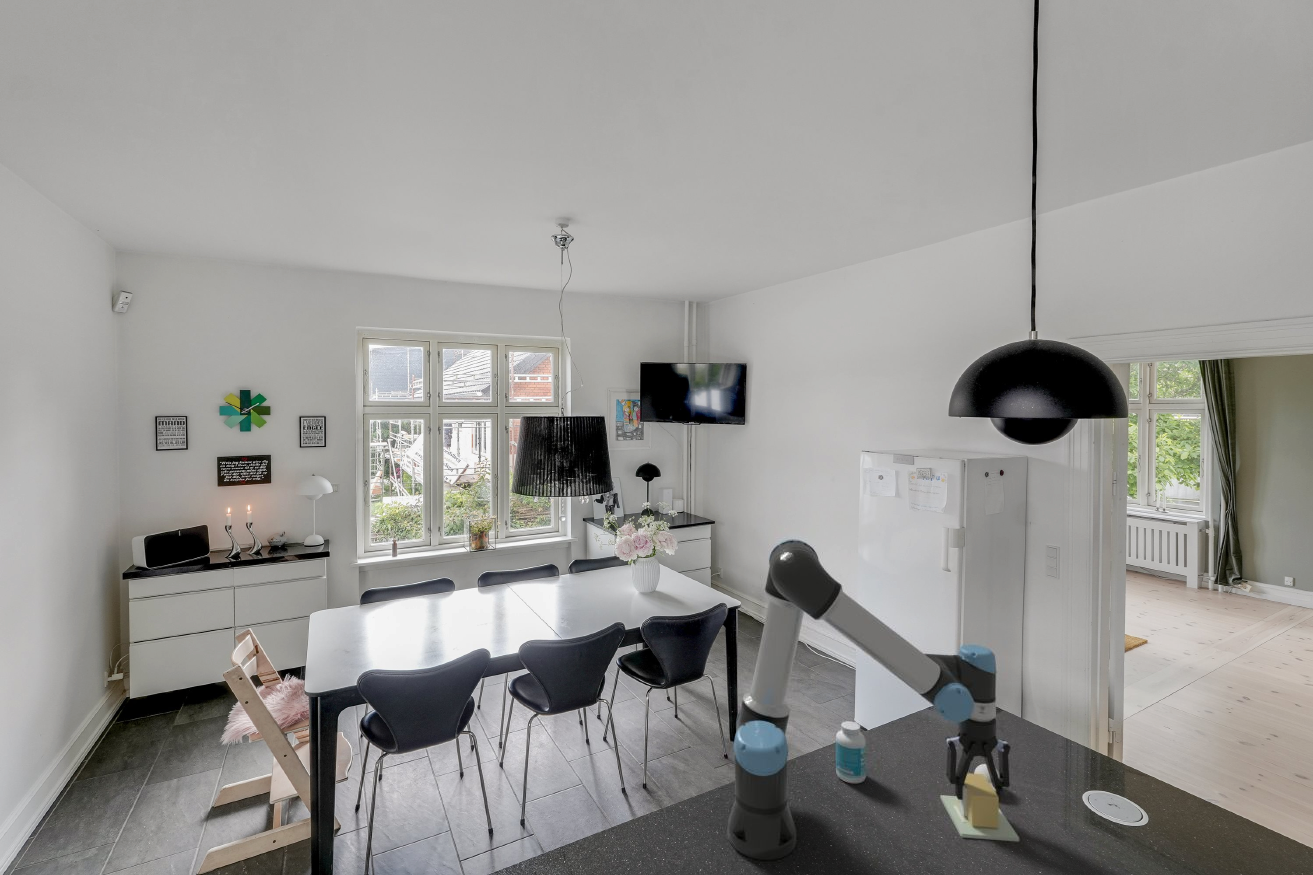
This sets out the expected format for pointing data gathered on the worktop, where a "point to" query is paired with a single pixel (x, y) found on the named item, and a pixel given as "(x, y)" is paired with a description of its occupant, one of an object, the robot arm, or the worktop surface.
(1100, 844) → the worktop surface
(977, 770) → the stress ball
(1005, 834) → the board
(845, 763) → the pill bottle
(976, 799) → the tan yellow block
